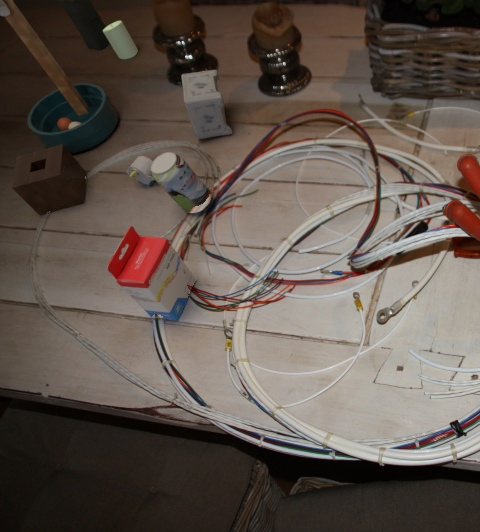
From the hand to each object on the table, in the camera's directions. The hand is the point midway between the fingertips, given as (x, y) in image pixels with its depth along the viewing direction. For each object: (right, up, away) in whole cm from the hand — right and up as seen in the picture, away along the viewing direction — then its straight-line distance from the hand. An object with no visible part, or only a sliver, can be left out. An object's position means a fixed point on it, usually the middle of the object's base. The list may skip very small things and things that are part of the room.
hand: (8, 8), depth 99 cm
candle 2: (+4, +6, +36) cm, 37 cm away
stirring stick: (+3, -13, +19) cm, 24 cm away
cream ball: (+2, -17, +17) cm, 25 cm away
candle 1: (-5, +10, +40) cm, 42 cm away
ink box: (+34, -52, -7) cm, 63 cm away
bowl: (+2, -17, +21) cm, 27 cm away
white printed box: (+32, -17, +17) cm, 40 cm away
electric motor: (+21, -30, +9) cm, 38 cm away
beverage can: (+33, -35, +4) cm, 49 cm away
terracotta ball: (-1, -16, +19) cm, 25 cm away
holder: (+4, -32, +10) cm, 34 cm away
